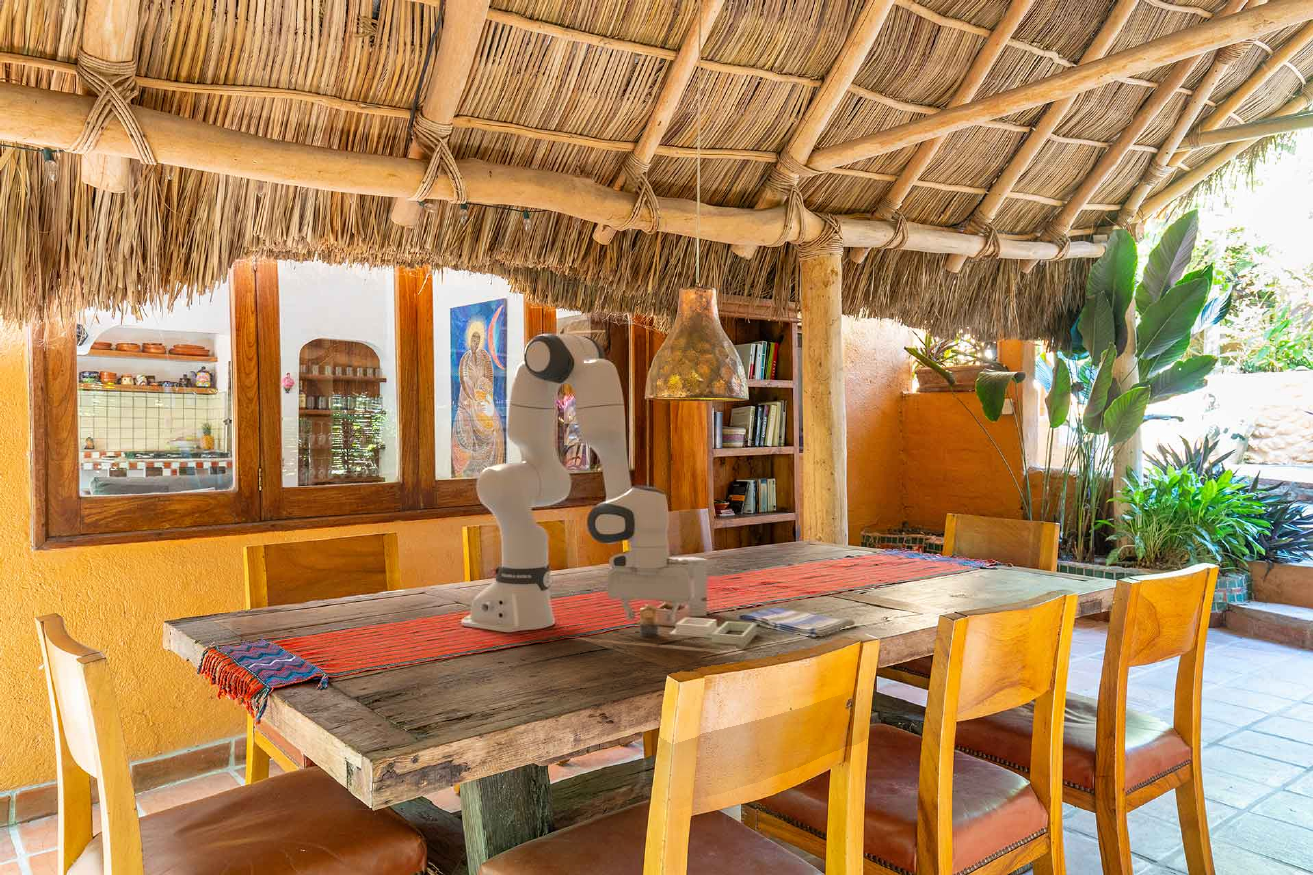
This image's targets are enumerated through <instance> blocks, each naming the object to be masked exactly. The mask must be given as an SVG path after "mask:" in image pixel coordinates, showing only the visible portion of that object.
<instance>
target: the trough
mask: <svg viewBox="0 0 1313 875" xmlns="http://www.w3.org/2000/svg"><path fill="white" fill-rule="evenodd" d="M729 631H733V632H737V631H738V632H742V633H741V635H740V634H730V633H729V634H728V632H729ZM726 633H727V634H726ZM756 635H757V622H741V621H728V620H726V621H725V622H724V623H722V625H720V626H719V628H718V629H717V630H716V631H715V632H714V633H713V634H712V638H711V643H713V644H723V645H724V644H726V645H737V647H735V648H736V649H742V648H744V647H745V648H746V646H747V645H749V643H750V642H752V640H753V639H754V638H755V637H756ZM754 636H755V637H754ZM745 648H744V649H745Z"/></svg>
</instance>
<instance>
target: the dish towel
mask: <svg viewBox="0 0 1313 875" xmlns="http://www.w3.org/2000/svg"><path fill="white" fill-rule="evenodd" d="M738 618H739V620H744V621H750V622H752V623H758V624H756V627H760V626H761V628H764V627H765V628H766V629H770V628H771V629H770V630H774V629H775V630H774V631H779V632H781V631H783V633H786V632H791V633H794V634H793V635H797V634H800V635H799V636H801V635H804V636H803V637H807V636H810V637H809V638H811V637H813V638H812V639H814V637H815V636H820V635H823V634H827V633H829V632H833V631H836V630H840V629H841V628H845V627H846V626H852V625H854V624H855V625H856V622H855V621H854V620H853V619H851V618H834V617H831V616H830V617H829V616H824V615H819V614H812V613H808V612H805V611H795V610H792V609H791V610H790V609H786V608H781V607H771V608H766V609H762V610H757V611H755V612H750V613H743V614H742V613H741V614H740V615H739V617H738ZM791 633H790V634H791ZM827 635H828V634H827ZM815 638H816V637H815Z"/></svg>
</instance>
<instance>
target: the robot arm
mask: <svg viewBox="0 0 1313 875" xmlns="http://www.w3.org/2000/svg"><path fill="white" fill-rule="evenodd" d="M523 360H524V361H521V362H520V364H519V365H518V366H517V368H516V371H515V374H514V378H513V382H512V386H511V392H510V398H509V406H508V407H509V408H508V419H507V428H506V429H507V430H506V433H507V437H508V439H509V440H510V442H512V443H513V444H514V445H516V446H517V447H518V449H519V453H520V458H521V460H520V462H508V463H507V462H505V463H499V464H495V465H492V466H488V467H485V468H484V469H483V470H482V471H481V472H480V473H479V475H478V478H477V480H476V484H475V485H476V488H475V489H476V495H477V497H478V499H479V501H480V503H481V504H482V505H483V506H484V507H485V508H487V509H488V510H489V511H490V512H491V513H492V515H493V517H494V518H495V521H496V523H497V525H498V528H499V532H500V539H501V565H500V566H498V567H496V568H495V569H492V570H491V571H492V574H491V575H495V579H494V581H493V582H492V583H491V584H489V585H488V586H486V588H484V589H483V590H481V591H480V593H478V594H477V595H476V596H475V597H474V598H473V600H472V603H471V608H470V614H469V615H466V616H465V617H463V618H462V619H461V622H460V625H461V626H464V627H470V628H477V629H483V630H489V631H496V632H503V633H514V632H518V631H529V630H538V629H539V630H540V629H545V628H548V627H551V626H553V625H554V624H555V623H556V621H555V616H554V613H553V607H552V603H551V596H550V587H551V565H550V564H549V535H548V532H547V530H546V529H545V528H544V527H542V526H541V525H540V524H537V522H536V521H535V519H534V516H533V510H532V509H533V508H536V507H538V508H539V507H549V506H551V505H552V506H553V505H555V504H558V503H560V502H563V501H564V500H566V498H567V497H568V496H569V495H570V493H571V492H570V491H571V488H572V479H571V475H570V473H569V470H568V469H566V467H565V466H564V465H563V464H562V463H561V461H560V459H559V457H558V454H557V450H556V445H555V424H556V415H557V414H556V413H557V404H558V403H557V402H558V394H559V390H560V388H561V386H562V385H563V384H567V385H569V386H570V387H571V389H572V392H573V395H574V407H575V408H574V409H575V417H576V423H577V427H578V432H579V434H580V437H581V440H582V441H583V442H584V443H585V444H586V445H588V447H590V448H591V449H592V450H593V451H594V452H595V454H596V455H597V458H599V461H600V463H601V468H602V475H603V482H604V489H605V493H606V494H605V495H606V497H605V501H603V502H600V503H597V504H596V505H595V506H594V507H593V508H592V509H591V510H590V511H589V513H588V515H587V517H586V519H587V520H586V526H587V530H588V533H589V534H590V536H591V537H592V538H593V539H594V540H596V541H597V542H598V543H601V544H606V545H612V544H616V543H620V542H623V541H626V542H627V541H628V543H629V549H628V550H626V551H623V552H621V553H618V554H616V555H613V556H611V557H610V558H609V561H608V562H609V566H610V568H609V569H608V570H607V574H606V582H605V583H606V584H605V594H606V596H607V597H608V598H609V599H611V600H612V599H615V600H616V599H617V600H621V606H622V608H623V609H624V610H625V612H626V619H627V620H635V619H636V610H635V609H634V610H633V609H632V606H631V605H630V603H631V602H632V600H635V601H654V602H655V601H656V602H664V601H671V606H673V608H672V610H671V612H668V613H667V614H666V617H667V618H666V621H669V622H673V621H675V612H676V610H677V609H678V607H679V605H680V602H689V601H691V600H692V599H693V598H694V597H695V588H694V581H693V577H694V566H693V564H692V563H691V562H689V561H688V560H686V559H682V560H678V559H670V542H669V539H668V530H669V524H670V523H669V521H670V520H669V508H668V500H667V497H666V496H667V495H666V494H665V492H664V491H663V490H662V489H660V488H658V487H655V486H650V485H642V484H639V485H638V484H637V485H633V482H632V477H631V472H630V470H631V469H630V463H629V456H628V450H627V437H626V436H627V435H626V434H627V433H626V413H625V402H624V396H623V394H624V393H623V388H622V386H621V381H620V376H619V373H618V370H617V368H616V366H615V364H614V363H613V362H612V361H609V360H607V359H606V354H605V351H604V349H603V346H602V345H601V344H600V343H599V342H598V341H596V339H593V338H591V337H589V336H583V335H582V336H581V335H578V334H573V333H556V334H555V333H547V332H546V333H543V334H539V335H536V336H534V337H533V338H531V339H530V340H529V341H528V343H527V344H526V346H525V348H524V352H523ZM688 563H689V564H688Z"/></svg>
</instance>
